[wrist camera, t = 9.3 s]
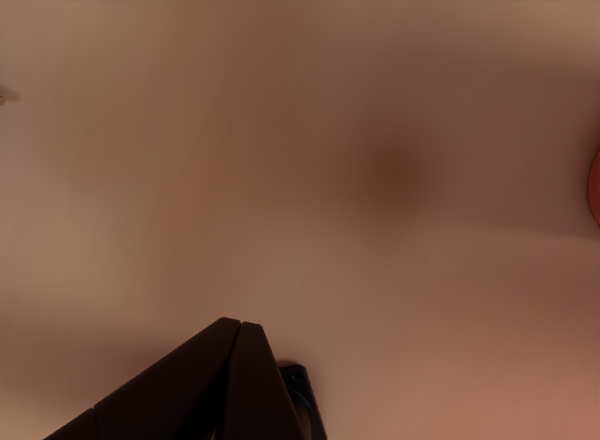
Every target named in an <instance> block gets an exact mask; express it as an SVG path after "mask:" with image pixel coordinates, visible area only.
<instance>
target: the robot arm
mask: <svg viewBox="0 0 600 440" xmlns="http://www.w3.org/2000/svg"><path fill="white" fill-rule="evenodd" d="M295 373H301V375H296V374H295ZM212 437H213V438H212ZM43 440H327V435H326V432H325V429H324V426H323V423H322V419H321V416H320V413H319V410H318V406H317V403H316V400H315V397H314V394H313V390H312V387H311V384H310V381H309V378H308V374H307V371H306V369H305V367H303V366H301V365H294V366H289V367H284V368H278V366H277V363H276V361H275V358H274V356H273V353H272V350H271V348H270V345H269V343H268V340H267V338H266V335H265V333H264V330H263V328H262V326H261V325H259V324H255V323H250V322H243V323H242V324H241V322H240V321H239V320H236V319H231V318H227V317H221V318H220V319H218V320H217V321H215V322H214V323H212V324H211V325H209V326H208V327H207V328H205V329H204V330H202V331H201V332H199V333H198V334H196V335H195V336H194V337H192V338H191V339H189V340H188V341H186V342H185V343H183V344H182V345H181V346H179V347H178V348H176V349H175V350H173V351H172V352H170V353H169V354H168V355H166V356H165V357H163V358H162V359H160V360H159V361H157V362H156V363H155V364H153V365H152V366H150V367H149V368H147V369H146V370H144V371H143V372H142V373H140V374H139V375H137V376H136V377H134V378H133V379H131V380H130V381H129V382H127V383H126V384H124V385H123V386H121V387H120V388H118V389H117V390H115V391H114V392H113V393H111V394H110V395H108V396H107V397H105V398H104V399H102V400H101V401H100V402H98V403H97V404H95V405H94V407H93V408H89V409H88V410H86V411H85V412H83V413H82V414H80V415H79V416H78V417H76V418H75V419H73V420H72V421H70V422H69V423H67V424H66V425H64V426H63V427H61V428H60V429H58V430H57V431H55V432H54V433H52V434H51V435H49V436H48V437H46V438H44V439H43Z"/></svg>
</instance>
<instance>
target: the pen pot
mask: <svg viewBox="0 0 600 440" xmlns="http://www.w3.org/2000/svg"><path fill="white" fill-rule="evenodd" d="M588 196H589V203H590V206H591V210H592V212H593V214H594V217H595V219H596V220H597V222H598V223H599V225H600V149H599V151H598V153H597V155H596V157H595V160H594V162H593V165H592V168H591V171H590V176H589V182H588Z"/></svg>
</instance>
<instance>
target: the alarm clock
mask: <svg viewBox="0 0 600 440" xmlns="http://www.w3.org/2000/svg"><path fill="white" fill-rule="evenodd" d="M4 102H5V100H4V98H3V97H1V96H0V106H2V105H3V104H4Z"/></svg>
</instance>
